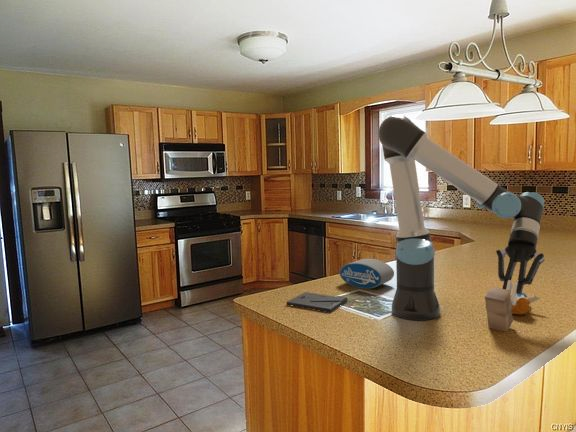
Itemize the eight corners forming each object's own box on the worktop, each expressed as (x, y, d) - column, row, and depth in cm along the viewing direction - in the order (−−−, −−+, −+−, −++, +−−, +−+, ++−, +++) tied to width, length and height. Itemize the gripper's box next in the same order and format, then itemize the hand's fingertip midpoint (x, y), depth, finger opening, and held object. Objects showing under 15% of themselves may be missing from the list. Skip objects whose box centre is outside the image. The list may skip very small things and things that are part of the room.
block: (494, 316, 123) (491, 286, 119) (513, 320, 119) (510, 289, 115) (488, 327, 120) (484, 296, 115) (507, 332, 116) (504, 300, 112)
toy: (535, 285, 136) (535, 293, 123) (543, 303, 135) (544, 312, 122) (497, 294, 142) (494, 303, 129) (504, 312, 141) (501, 322, 128)
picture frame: (347, 303, 149) (305, 296, 159) (347, 297, 149) (305, 291, 158) (330, 314, 138) (286, 307, 148) (330, 308, 138) (286, 300, 147)
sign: (394, 285, 166) (393, 261, 165) (382, 291, 159) (381, 266, 158) (352, 278, 179) (352, 256, 178) (339, 284, 172) (339, 260, 171)
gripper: (551, 244, 126) (539, 313, 116) (501, 241, 135) (486, 304, 125) (548, 229, 121) (535, 300, 111) (496, 227, 131) (480, 292, 120)
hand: (509, 302), depth 118 cm, fingers closed
